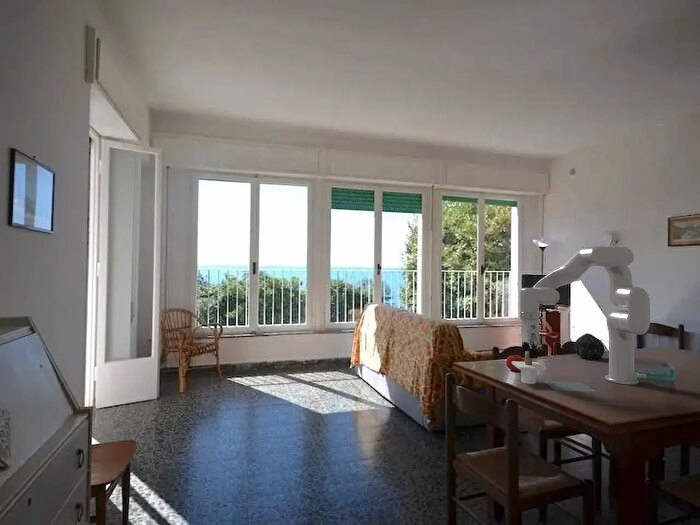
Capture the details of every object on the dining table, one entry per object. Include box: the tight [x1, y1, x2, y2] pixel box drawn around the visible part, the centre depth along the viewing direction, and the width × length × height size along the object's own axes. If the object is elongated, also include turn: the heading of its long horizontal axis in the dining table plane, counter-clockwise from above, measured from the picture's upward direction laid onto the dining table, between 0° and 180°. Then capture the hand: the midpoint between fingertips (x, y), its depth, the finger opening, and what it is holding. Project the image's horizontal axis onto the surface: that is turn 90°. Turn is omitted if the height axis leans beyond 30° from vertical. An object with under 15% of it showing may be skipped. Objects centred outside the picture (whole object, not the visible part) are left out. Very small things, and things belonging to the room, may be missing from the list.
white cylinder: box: [520, 370, 538, 385], centre depth 180 cm, size 7×7×7 cm
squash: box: [573, 332, 606, 360], centre depth 234 cm, size 14×15×15 cm
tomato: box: [505, 353, 525, 372], centre depth 202 cm, size 9×9×8 cm
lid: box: [512, 351, 548, 371], centre depth 180 cm, size 11×11×6 cm
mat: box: [543, 380, 598, 393], centre depth 174 cm, size 16×14×1 cm
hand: (529, 355), depth 180 cm, fingers open, 9 cm apart
